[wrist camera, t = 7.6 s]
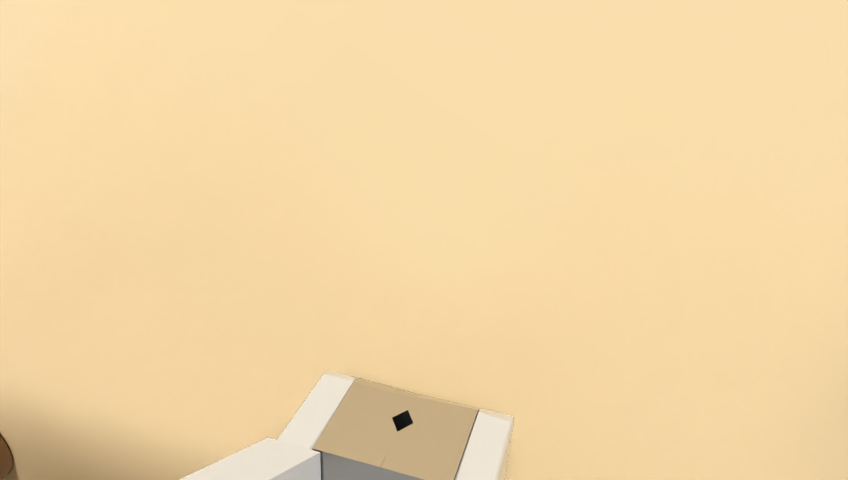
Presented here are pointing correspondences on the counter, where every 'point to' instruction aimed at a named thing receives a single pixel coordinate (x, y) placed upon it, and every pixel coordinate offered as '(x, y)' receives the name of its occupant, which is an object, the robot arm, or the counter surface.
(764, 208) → the counter surface
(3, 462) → the post
